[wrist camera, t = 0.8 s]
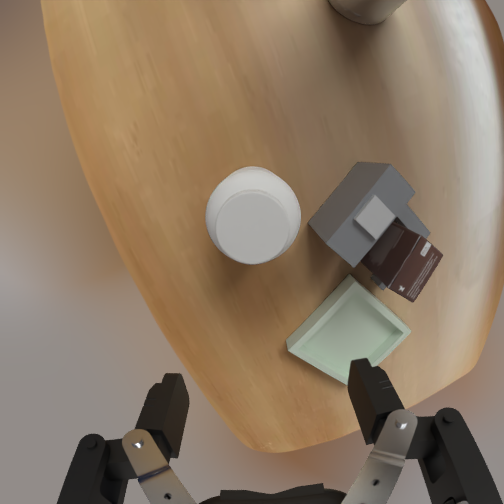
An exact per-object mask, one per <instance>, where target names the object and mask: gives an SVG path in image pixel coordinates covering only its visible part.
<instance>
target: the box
mask: <svg viewBox="0 0 504 504" xmlns="http://www.w3.org/2000/svg"><path fill="white" fill-rule="evenodd" d="M442 257H443V254H442V253H441V252H440V251H439V250H437V249H436V248H435V247H434V246H433V245H432V244H431V243H430V242H429V241H427V240H426V239H425V238H424V237H423V236H422V235H420V234H418V233H416V232H414V231H412V230H409V229H407V228H405V227H403V226H401V225H399V224H397V223H394V222H392V223H391V224H390V226H389V227H388V228H387V229H386V231H385V232H384V233H383V234H382V236H381V237H380V238H379V239H378V240H377V242H376V243H375V244H374V245H373V246H372V248H371V249H370V250H369V251H368V252H367V253H366V255H365V256H364V257H363V258H362V259H361V260H360V261H361V262H362V263H363V264H364V265H365V266H366V267H367V268H368V269H369V270H370V271H371V272H372V273H373V274H374V275H375V276H376V277H377V278H379V279H380V281H381V282H383V283H384V285H385V286H386V287H387V288H389V289H391V290H392V291H394V292H396V293H397V294H399V295H401V296H403V297H404V298H406V299H408V300H409V301H411V302H414V301H415V300H416V298H417V297H418V295H419V294H420V292H421V290H422V289H423V287H424V286H425V284H426V283H427V281H428V280H429V278H430V276H431V275H432V273H433V272H434V270H435V268H436V267H437V265H438V263H439V262H440V260H441V258H442Z"/></svg>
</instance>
